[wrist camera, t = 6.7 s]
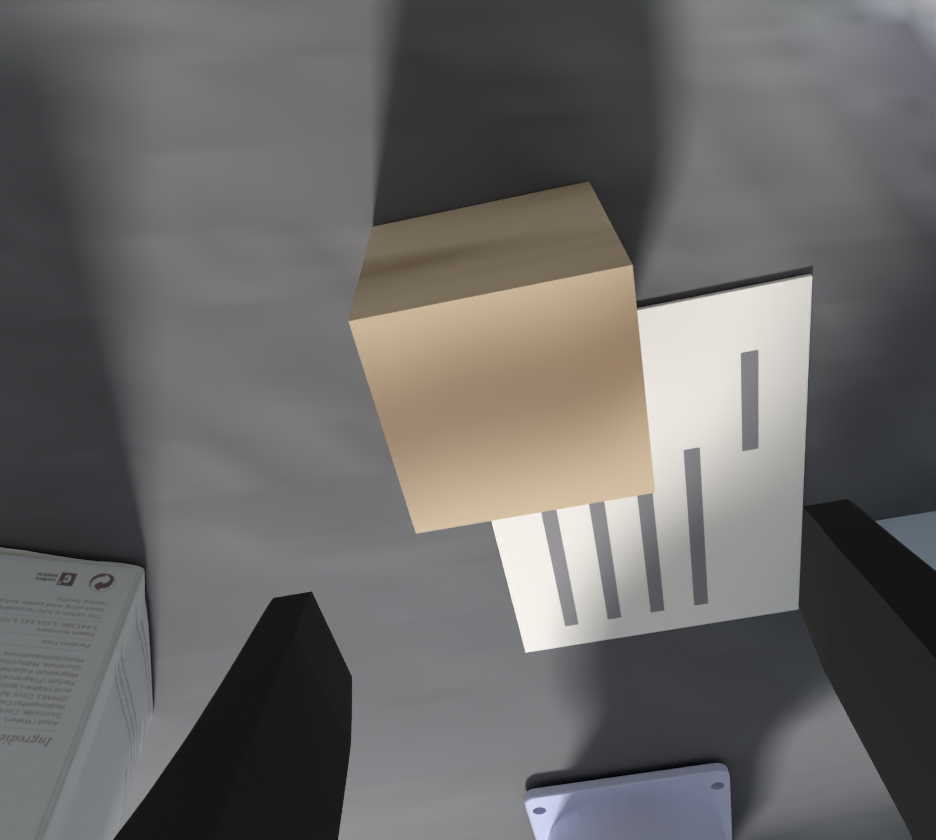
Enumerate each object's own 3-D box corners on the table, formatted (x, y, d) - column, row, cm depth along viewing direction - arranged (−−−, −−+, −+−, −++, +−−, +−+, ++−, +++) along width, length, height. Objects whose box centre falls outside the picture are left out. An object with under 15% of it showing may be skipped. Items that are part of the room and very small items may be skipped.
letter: (797, 606, 26) (798, 609, 26) (525, 649, 27) (525, 652, 26) (810, 273, 19) (812, 275, 19) (446, 346, 20) (446, 348, 20)
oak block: (612, 372, 20) (654, 492, 16) (423, 407, 21) (415, 533, 17) (588, 181, 18) (632, 264, 13) (372, 226, 18) (348, 321, 14)
